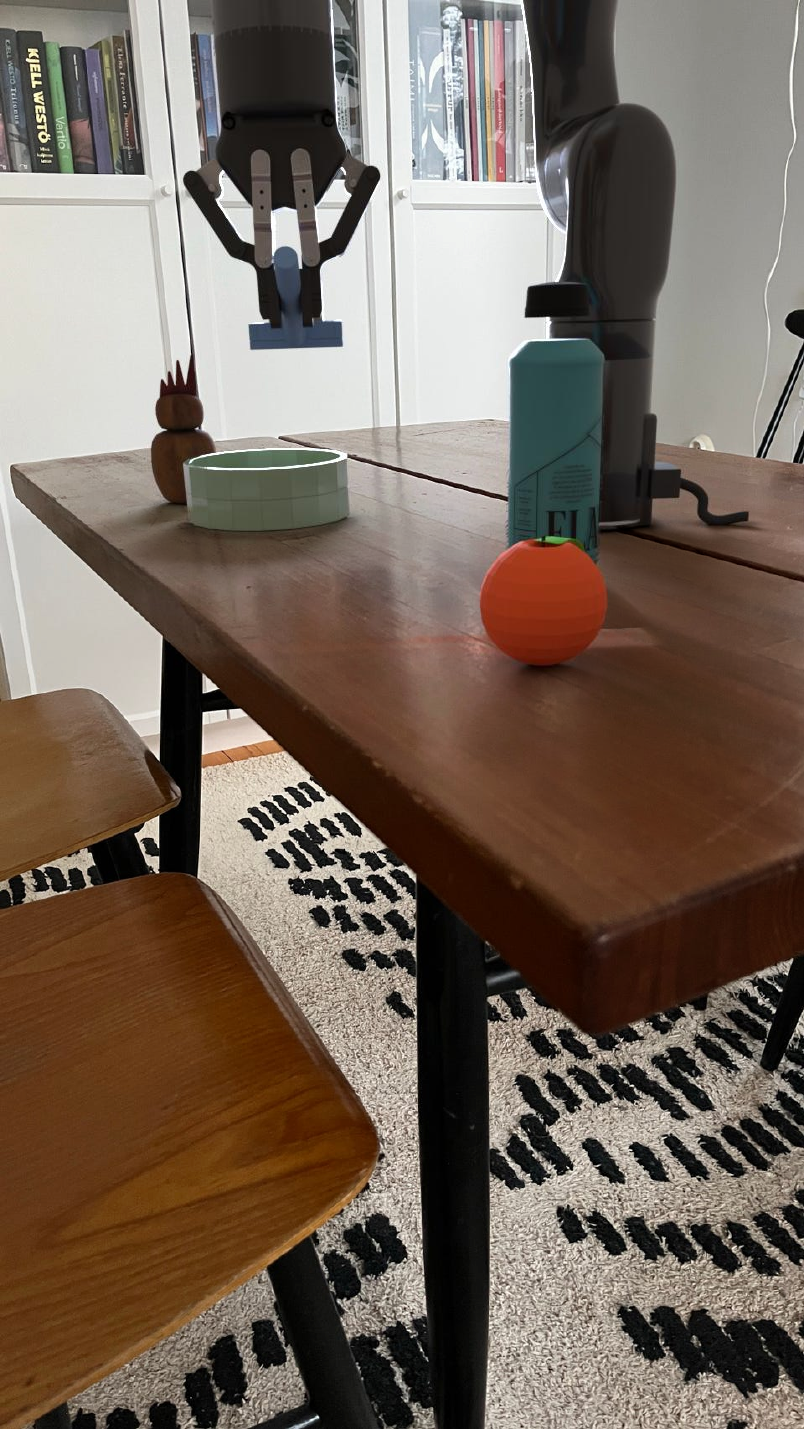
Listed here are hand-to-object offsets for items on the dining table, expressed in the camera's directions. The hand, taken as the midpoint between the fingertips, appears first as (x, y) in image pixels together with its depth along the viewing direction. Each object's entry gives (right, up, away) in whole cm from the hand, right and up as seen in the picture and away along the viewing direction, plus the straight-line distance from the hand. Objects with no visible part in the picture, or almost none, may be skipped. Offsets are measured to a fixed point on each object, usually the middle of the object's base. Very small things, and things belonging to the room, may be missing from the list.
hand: (292, 326), depth 73 cm
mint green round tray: (-5, -8, +29) cm, 30 cm away
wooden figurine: (-16, -4, +42) cm, 45 cm away
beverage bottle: (+18, -18, +2) cm, 26 cm away
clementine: (+16, -24, -14) cm, 32 cm away
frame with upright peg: (0, 0, +4) cm, 4 cm away
